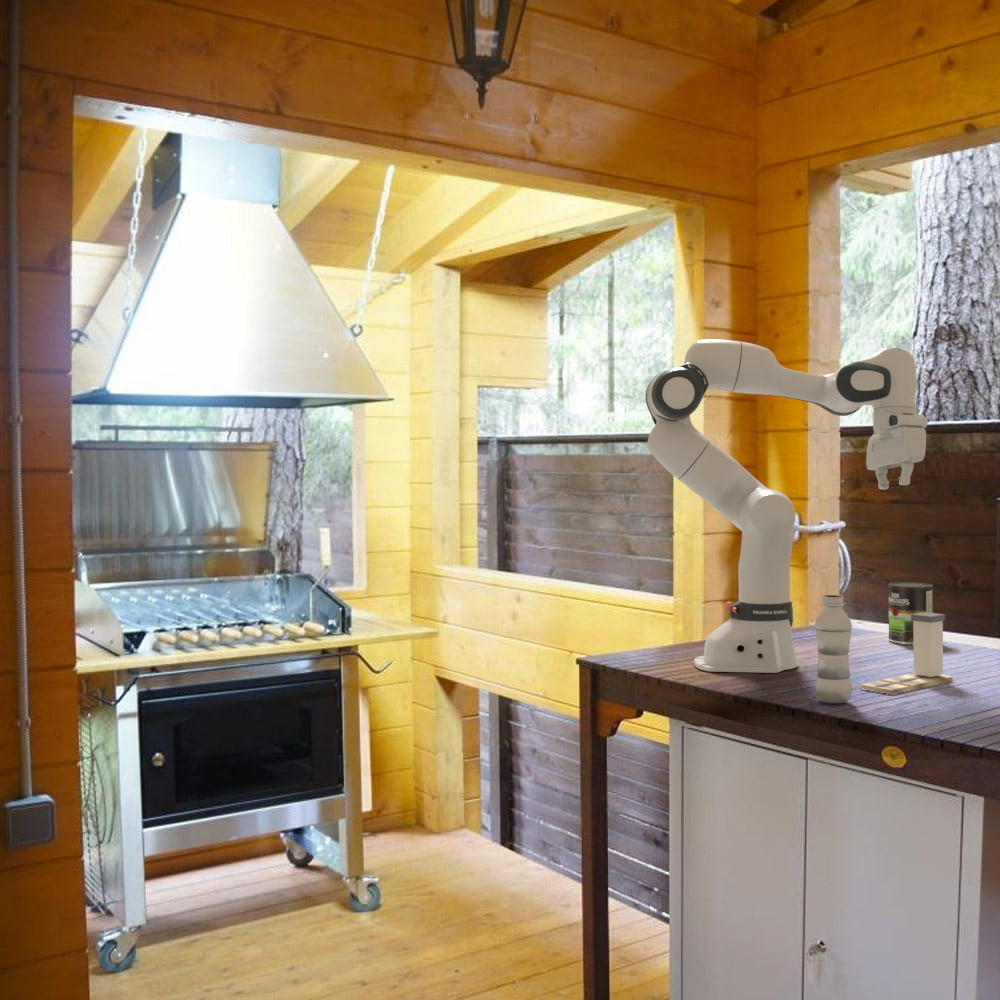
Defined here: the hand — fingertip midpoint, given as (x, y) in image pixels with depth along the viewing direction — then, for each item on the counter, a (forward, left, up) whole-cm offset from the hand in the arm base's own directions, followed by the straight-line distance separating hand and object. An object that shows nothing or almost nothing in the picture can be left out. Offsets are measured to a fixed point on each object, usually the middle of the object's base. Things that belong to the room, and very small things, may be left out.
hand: (893, 487), depth 240 cm
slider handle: (+2, -16, -38) cm, 41 cm away
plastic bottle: (-22, -35, -39) cm, 57 cm away
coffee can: (+14, +31, -39) cm, 52 cm away
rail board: (-4, -20, -39) cm, 44 cm away
